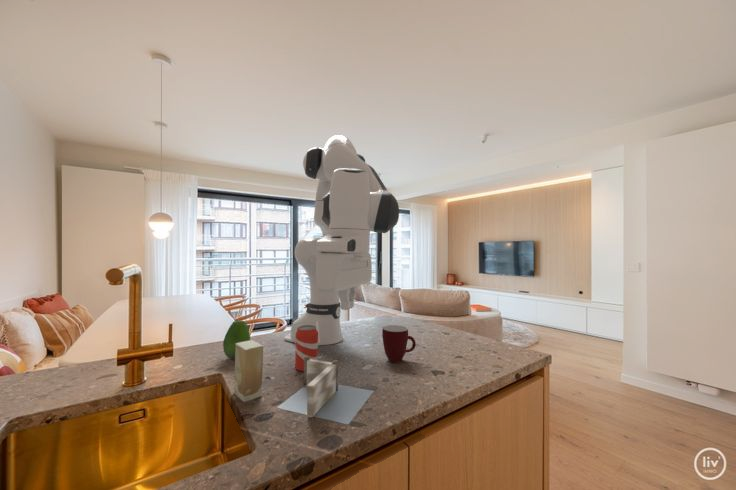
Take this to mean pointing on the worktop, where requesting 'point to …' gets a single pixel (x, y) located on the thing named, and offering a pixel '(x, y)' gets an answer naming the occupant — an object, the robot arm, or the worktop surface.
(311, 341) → the beverage can
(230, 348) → the fruit
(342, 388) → the card
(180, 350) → the worktop surface
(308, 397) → the fence panel
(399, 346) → the mug
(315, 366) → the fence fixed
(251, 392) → the skincare box
